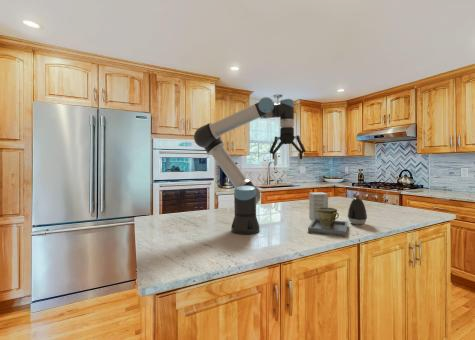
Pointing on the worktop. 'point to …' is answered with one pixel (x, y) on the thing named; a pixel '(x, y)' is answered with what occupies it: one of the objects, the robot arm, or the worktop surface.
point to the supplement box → (317, 203)
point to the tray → (338, 229)
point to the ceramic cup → (327, 217)
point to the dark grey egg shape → (357, 212)
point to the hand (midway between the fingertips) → (287, 165)
